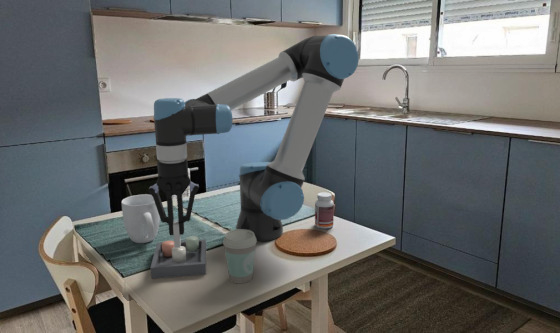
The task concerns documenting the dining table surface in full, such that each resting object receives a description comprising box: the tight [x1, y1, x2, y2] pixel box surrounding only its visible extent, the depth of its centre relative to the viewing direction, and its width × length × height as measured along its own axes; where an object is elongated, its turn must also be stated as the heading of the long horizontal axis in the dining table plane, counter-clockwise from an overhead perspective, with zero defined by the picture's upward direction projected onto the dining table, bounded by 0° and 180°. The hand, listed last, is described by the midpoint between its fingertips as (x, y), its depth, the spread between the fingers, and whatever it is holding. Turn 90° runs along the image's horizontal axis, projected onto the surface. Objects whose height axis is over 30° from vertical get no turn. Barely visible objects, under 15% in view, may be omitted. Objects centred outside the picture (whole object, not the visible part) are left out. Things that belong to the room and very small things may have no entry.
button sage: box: [184, 235, 200, 252], centre depth 126 cm, size 4×4×3 cm
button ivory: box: [172, 246, 186, 263], centre depth 120 cm, size 4×4×3 cm
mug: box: [121, 193, 161, 244], centre depth 137 cm, size 15×11×13 cm
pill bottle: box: [314, 191, 335, 230], centre depth 148 cm, size 6×6×11 cm
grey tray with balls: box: [150, 239, 207, 279], centre depth 124 cm, size 14×16×3 cm
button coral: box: [162, 240, 174, 257], centre depth 126 cm, size 4×4×3 cm
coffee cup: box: [222, 228, 258, 284], centre depth 114 cm, size 8×9×12 cm
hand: (177, 245), depth 119 cm, fingers closed
